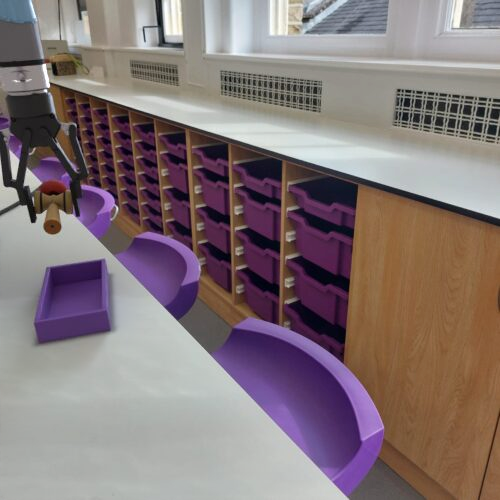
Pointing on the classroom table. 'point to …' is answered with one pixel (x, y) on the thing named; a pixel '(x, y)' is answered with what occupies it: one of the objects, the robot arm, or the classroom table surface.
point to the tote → (73, 301)
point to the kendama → (53, 204)
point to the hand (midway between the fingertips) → (56, 217)
